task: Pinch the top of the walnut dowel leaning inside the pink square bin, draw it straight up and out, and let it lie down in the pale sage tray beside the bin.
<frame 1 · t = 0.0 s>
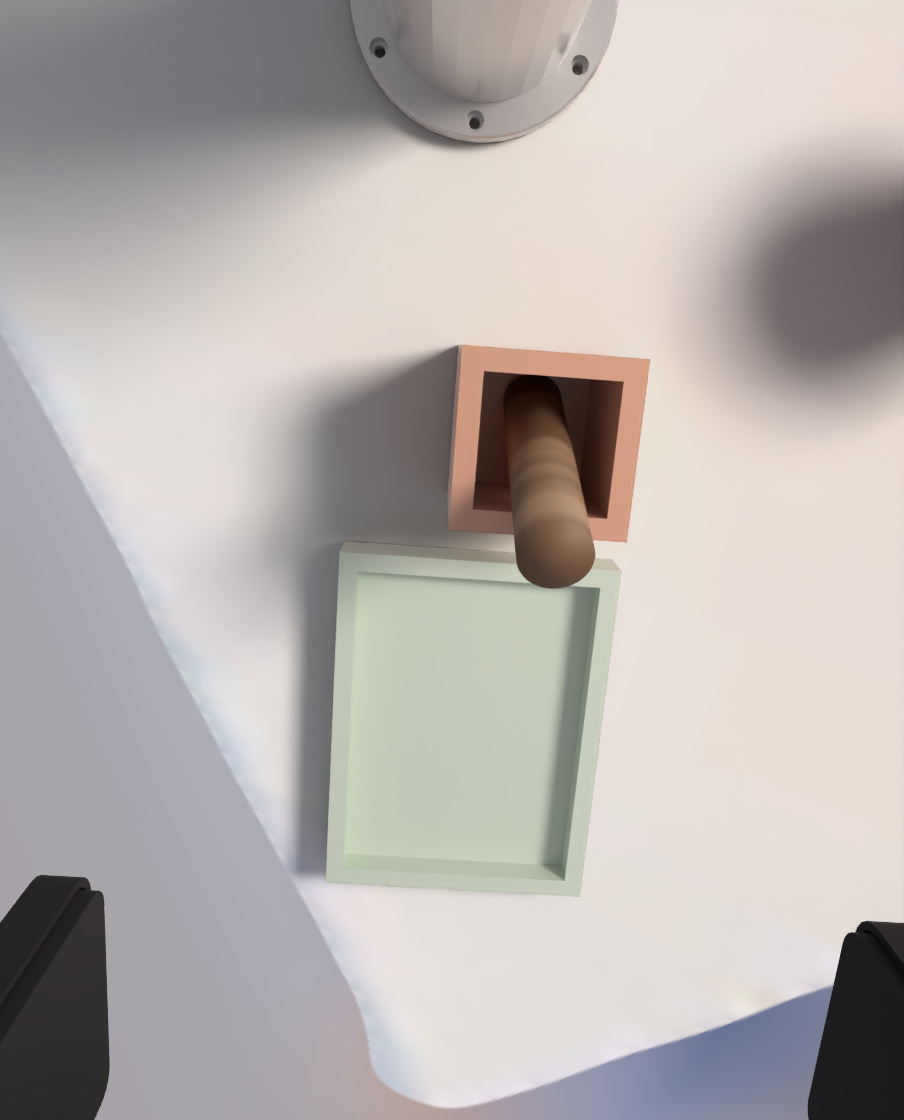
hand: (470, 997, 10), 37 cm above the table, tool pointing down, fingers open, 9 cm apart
pink square bin: (526, 427, 45), on the table
tray: (465, 715, 49), on the table
dowel: (532, 400, 43), point 2 cm above the table, touching pink square bin
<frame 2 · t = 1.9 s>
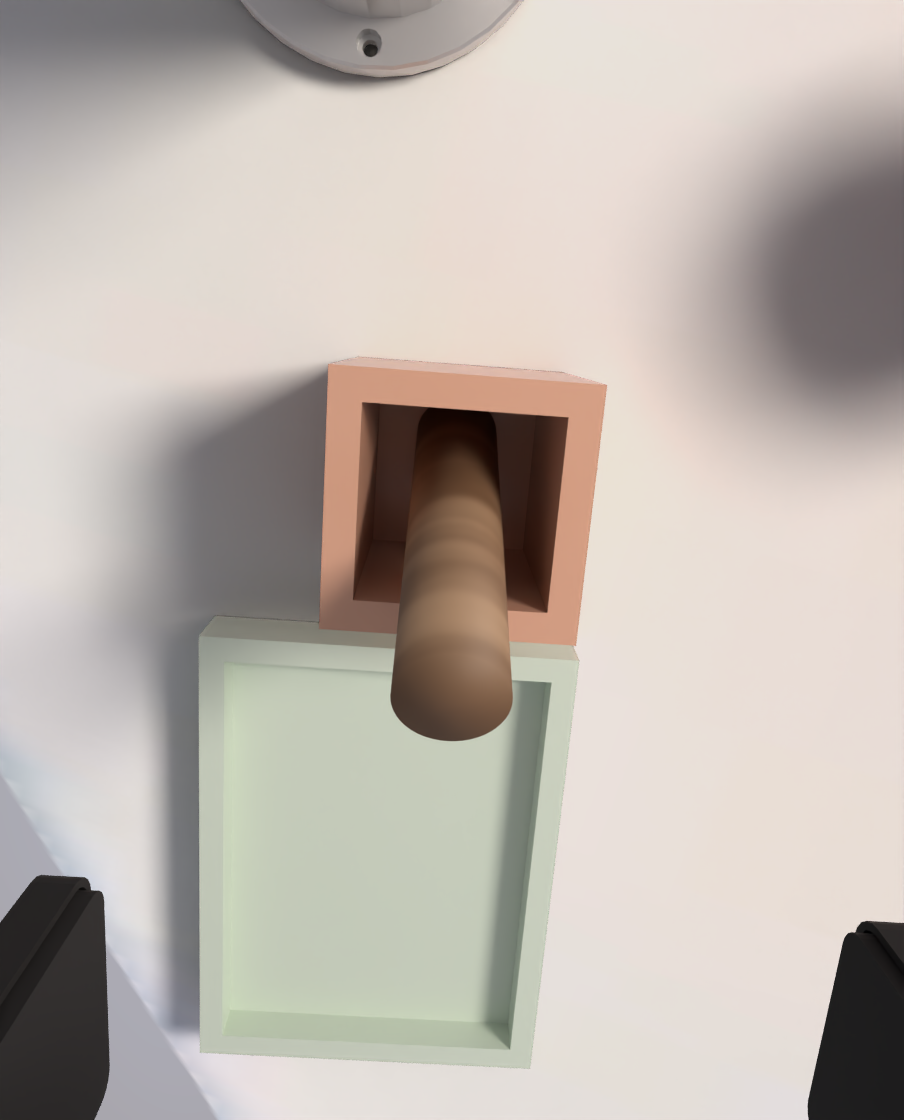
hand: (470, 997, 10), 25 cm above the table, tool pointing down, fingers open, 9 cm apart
pink square bin: (453, 466, 34), on the table
tray: (381, 835, 38), on the table
dowel: (456, 433, 32), point 2 cm above the table, touching pink square bin
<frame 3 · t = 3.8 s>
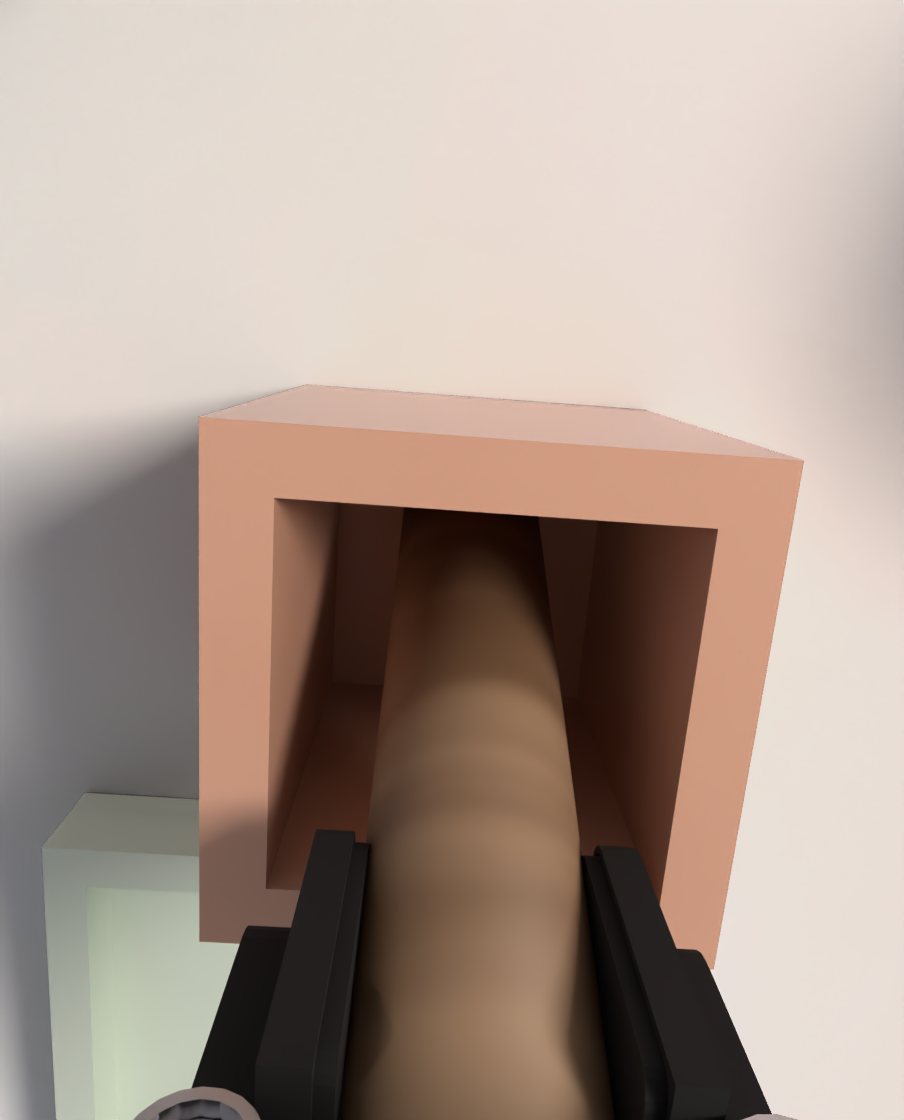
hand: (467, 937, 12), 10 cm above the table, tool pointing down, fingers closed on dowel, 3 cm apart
pink square bin: (463, 561, 21), on the table
tray: (352, 1110, 25), on the table
dowel: (470, 514, 19), point 2 cm above the table, touching pink square bin, gripper
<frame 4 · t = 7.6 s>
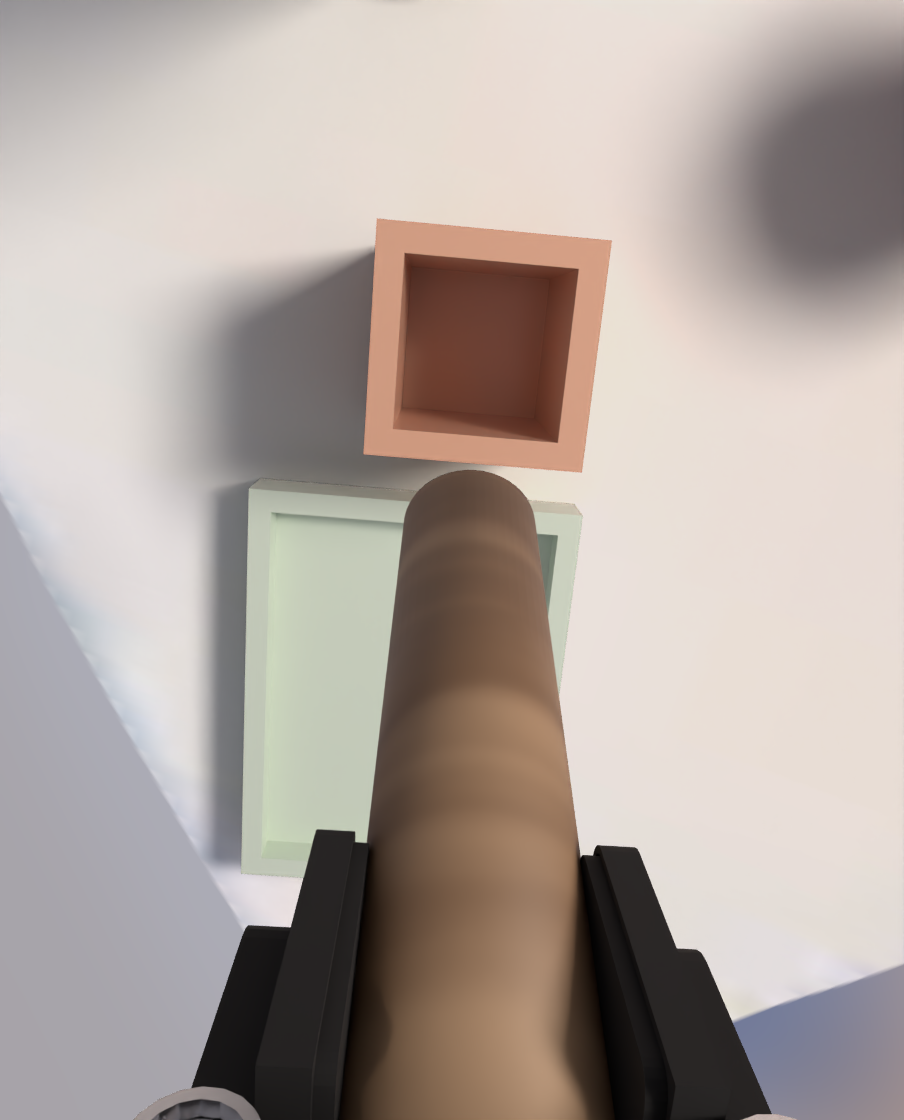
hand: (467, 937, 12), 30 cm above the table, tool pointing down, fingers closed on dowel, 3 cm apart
pink square bin: (473, 343, 38), on the table
tray: (403, 683, 43), on the table
dowel: (469, 528, 19), point 21 cm above the table, touching gripper
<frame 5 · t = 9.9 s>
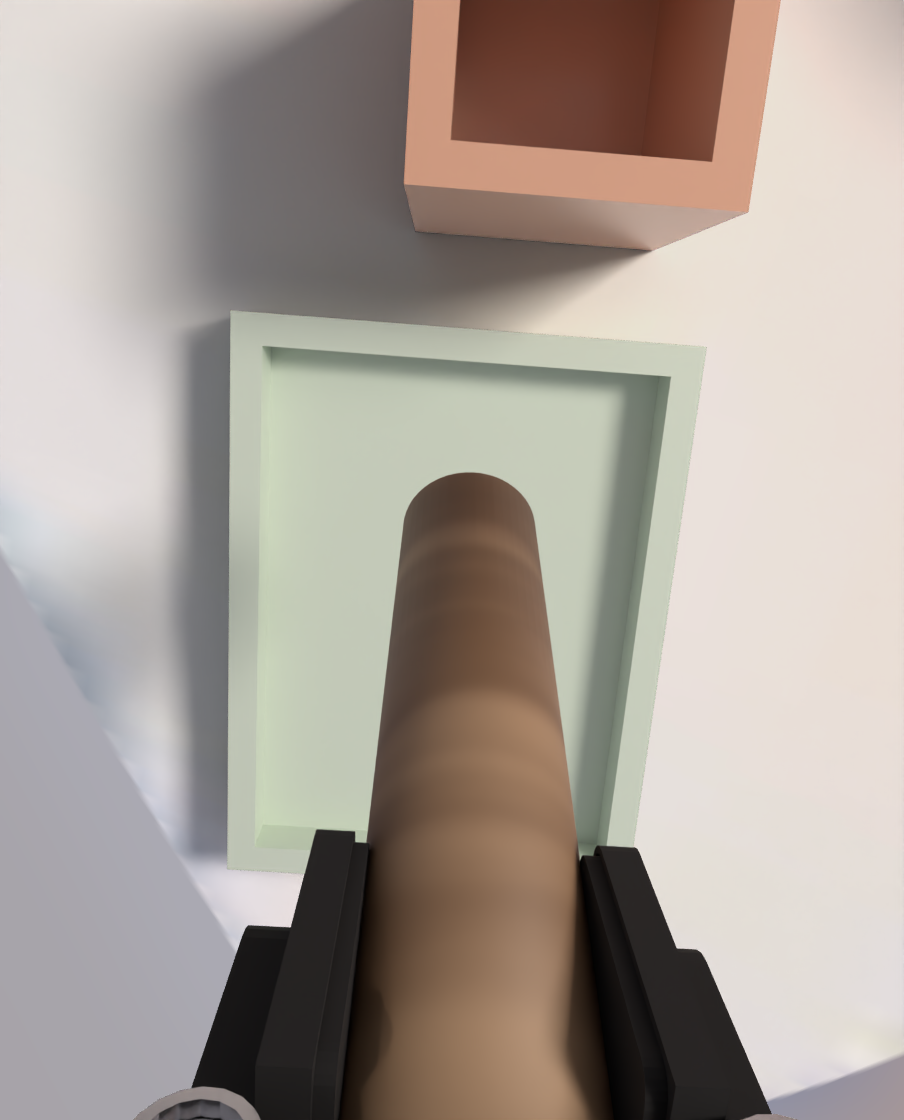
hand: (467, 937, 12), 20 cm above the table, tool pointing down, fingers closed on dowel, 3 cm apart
pink square bin: (547, 109, 27), on the table
tray: (447, 606, 31), on the table
dowel: (468, 531, 19), point 11 cm above the table, touching gripper
when the fingers open (13 cm above the table, at t = 11.5 s): dowel drops 1 cm and tips over, resting on tray.
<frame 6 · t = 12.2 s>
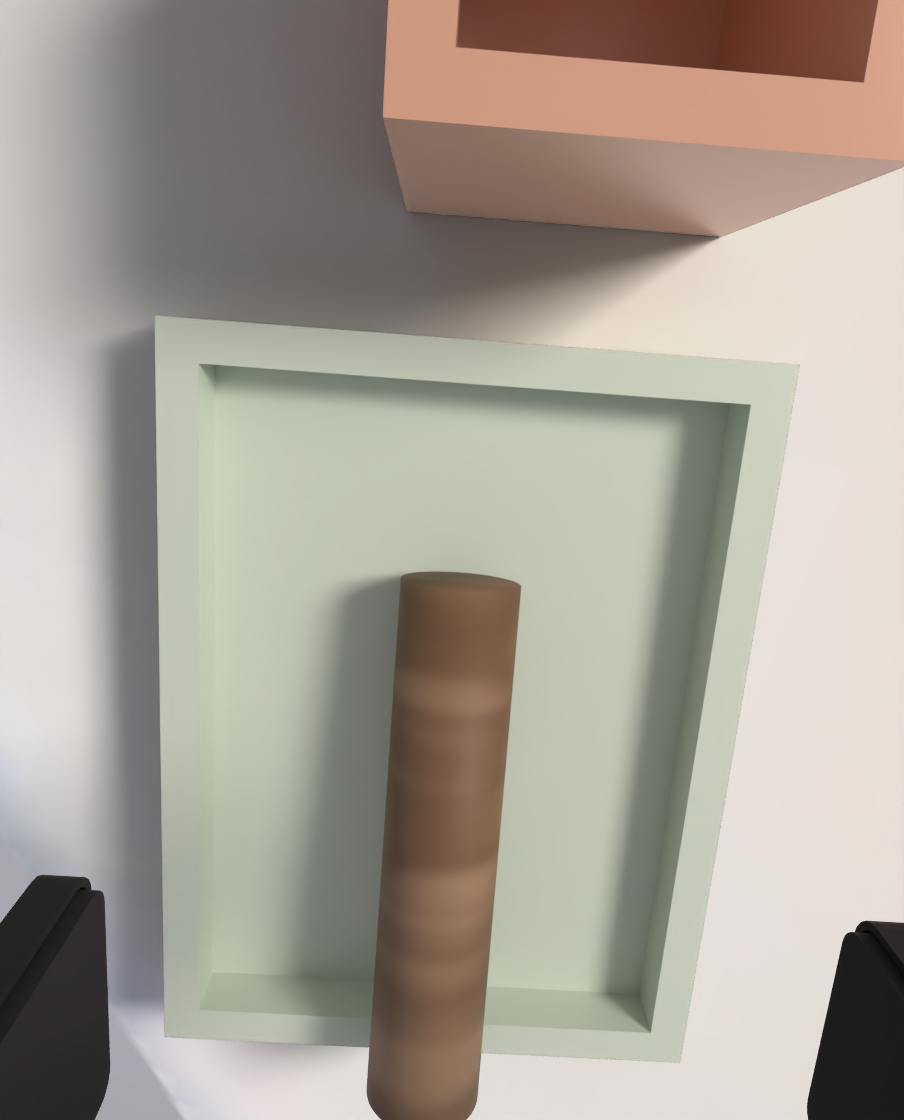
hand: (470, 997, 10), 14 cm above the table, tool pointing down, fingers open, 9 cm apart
pink square bin: (582, 47, 20), on the table
tray: (448, 696, 24), on the table
dowel: (461, 581, 21), point 2 cm above the table, tilted 63°, touching tray
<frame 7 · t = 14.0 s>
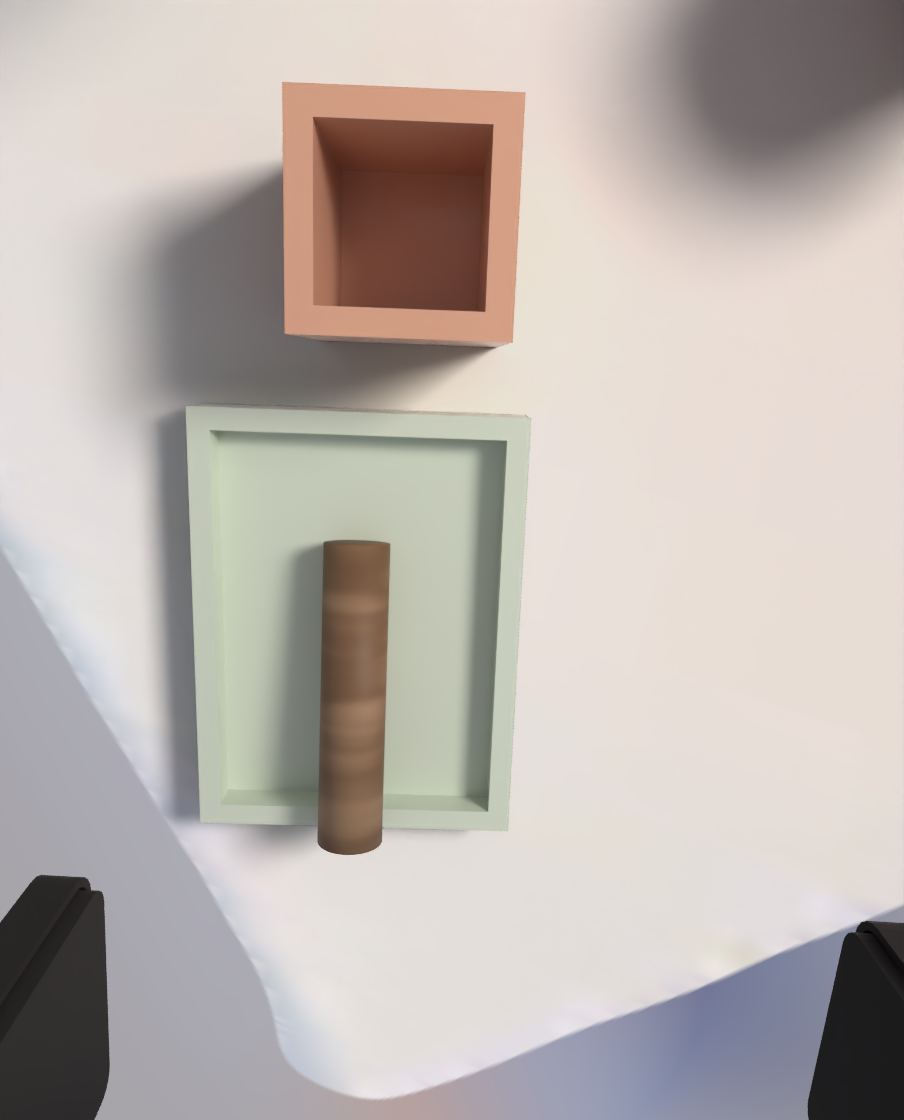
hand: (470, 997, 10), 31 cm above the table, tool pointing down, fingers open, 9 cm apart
pink square bin: (411, 251, 37), on the table
tray: (361, 615, 41), on the table
dowel: (357, 543, 38), point 2 cm above the table, tilted 63°, touching tray
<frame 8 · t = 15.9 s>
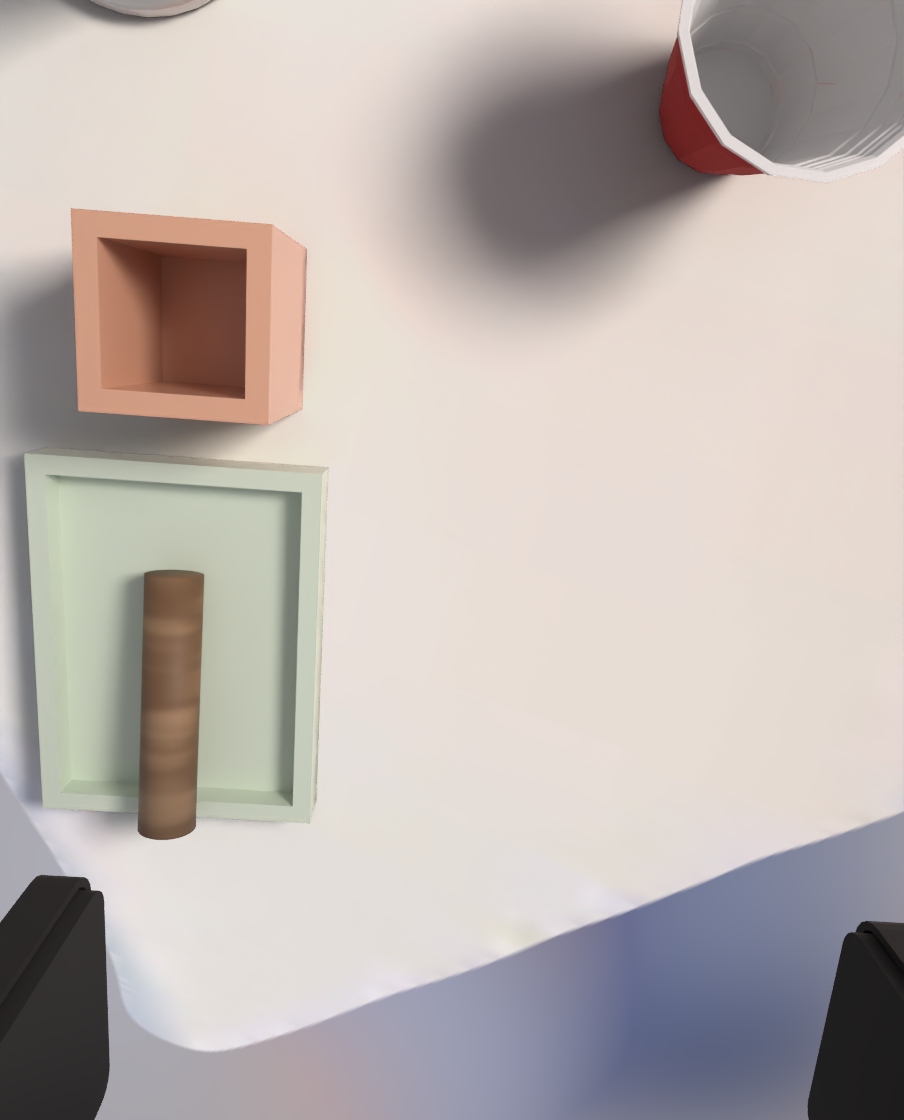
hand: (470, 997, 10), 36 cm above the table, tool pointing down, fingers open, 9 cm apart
pink square bin: (226, 325, 43), on the table
tray: (189, 633, 47), on the table
plastic cup: (720, 109, 41), on the table
dowel: (174, 574, 44), point 2 cm above the table, tilted 63°, touching tray
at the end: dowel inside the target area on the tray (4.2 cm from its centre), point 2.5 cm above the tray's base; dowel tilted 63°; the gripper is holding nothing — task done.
